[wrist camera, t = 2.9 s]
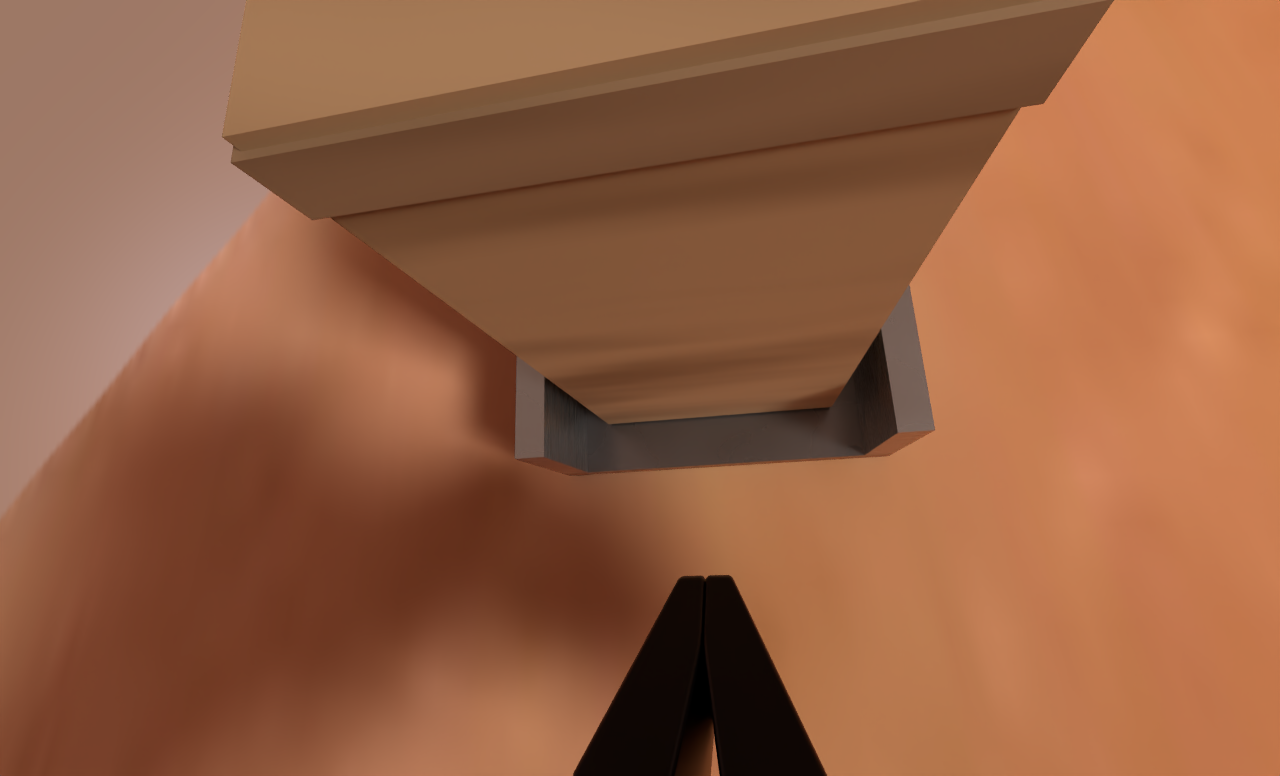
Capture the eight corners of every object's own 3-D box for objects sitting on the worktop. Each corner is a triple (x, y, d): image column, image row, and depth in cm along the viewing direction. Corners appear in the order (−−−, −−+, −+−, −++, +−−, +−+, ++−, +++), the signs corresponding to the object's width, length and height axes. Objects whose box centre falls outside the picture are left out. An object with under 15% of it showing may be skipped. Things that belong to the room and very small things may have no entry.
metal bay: (888, 455, 17) (935, 430, 13) (569, 475, 19) (514, 459, 15) (811, -45, 22) (825, -186, 18) (566, 8, 24) (524, -109, 20)
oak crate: (835, 410, 17) (1134, -30, 4) (605, 427, 18) (210, 148, 5) (807, 201, 19) (940, -594, 6) (601, 230, 20) (304, -358, 7)
